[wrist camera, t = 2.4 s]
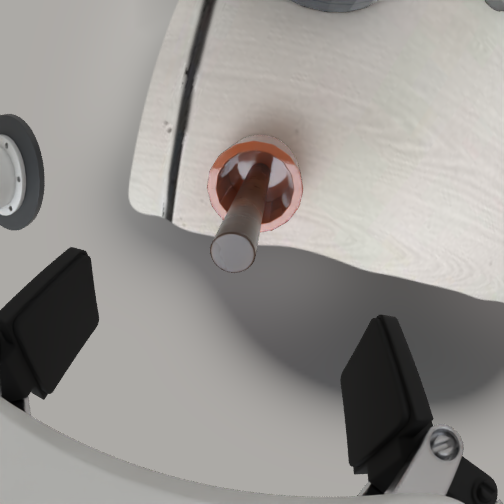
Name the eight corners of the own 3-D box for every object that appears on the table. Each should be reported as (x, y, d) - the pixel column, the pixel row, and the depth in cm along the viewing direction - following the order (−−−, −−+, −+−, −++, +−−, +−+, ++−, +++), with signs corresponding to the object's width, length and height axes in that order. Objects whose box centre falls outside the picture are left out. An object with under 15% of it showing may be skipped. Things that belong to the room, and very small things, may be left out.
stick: (247, 181, 31) (207, 268, 15) (251, 160, 30) (212, 228, 14) (268, 185, 31) (250, 277, 15) (272, 165, 30) (259, 237, 14)
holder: (217, 199, 33) (202, 222, 27) (229, 128, 29) (215, 133, 23) (289, 214, 33) (290, 240, 27) (305, 143, 29) (312, 153, 23)
